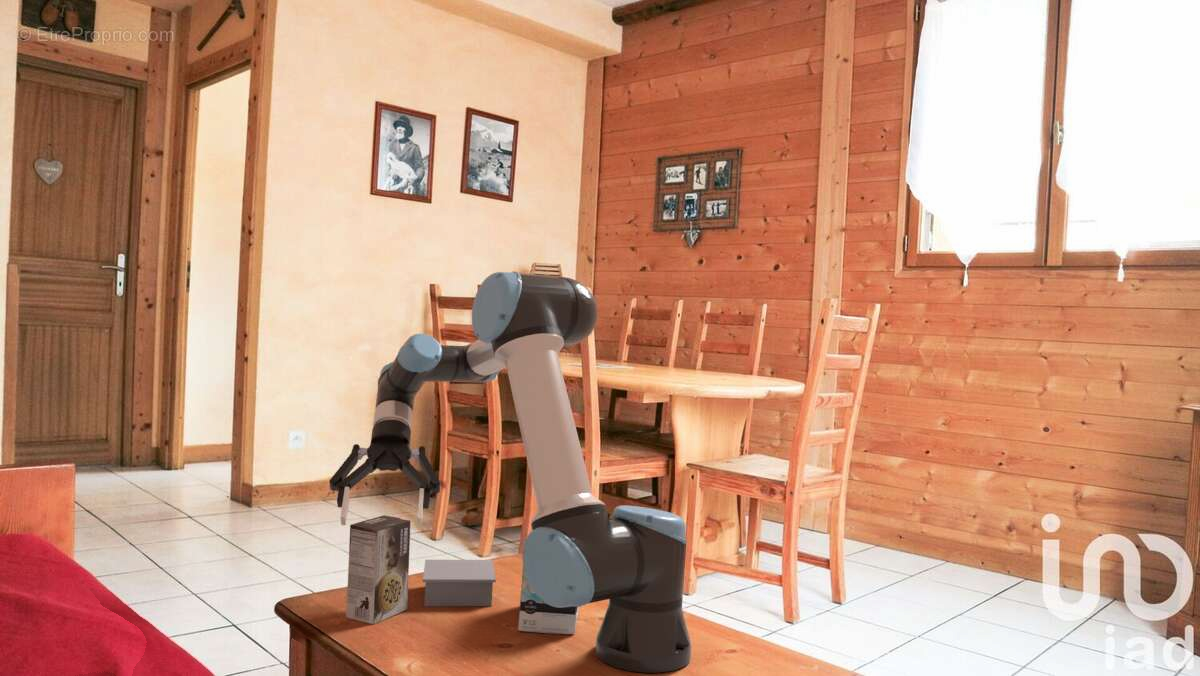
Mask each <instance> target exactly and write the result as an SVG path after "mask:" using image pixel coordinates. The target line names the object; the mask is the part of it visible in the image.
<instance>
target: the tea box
mask: <svg viewBox="0 0 1200 676" xmlns="http://www.w3.org/2000/svg"><path fill="white" fill-rule="evenodd" d="M531 532H532V527H531V529H530V531H529V533H528V535H529V534H530V533H531ZM523 552H525V550H524V549H523ZM519 601H520V604H519V614H518V615H519V616H518V627H517V629H518V631H520V632H527V633H528V632H529V633H538V634H540V633H543V634H553V635H555V634H557V635H575V633H576V628H577V623H578V622H577V621H578V616H579V615H578V614H579V609H580V607H573V606H571V607H564V608H557V607H553V606H550V605H548V604H546V603H545V602H544V601H543V600H542V599H541V598H539V597H538V596H537V595H536V594H535V592H534V591H533V589H532V588H531V586H530V584H529V582H528V580H527V577H526V574H525V571H524V567H523V566H522V574H521V590H520V600H519Z"/></svg>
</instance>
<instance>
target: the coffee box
mask: <svg viewBox="0 0 1200 676" xmlns="http://www.w3.org/2000/svg"><path fill="white" fill-rule="evenodd" d="M410 539H411V520H409V519H402V518H400V517H397V516H396V517H395V516H390V515H380V516H376V517H372V518H370V519H365V520H362V521H359V522H356V523H351V524H350V525H349V544H348V545H349V548H348V549H349V550H348V568H347V569H348V571H347V589H346V590H347V591H346V592H347V593H346V608H345V609H346V611H345V613H346V614H345V616H346V618H348V619H350V620H354V621H359V622H363V623H367V624H370V625H376V624H377V623H380V622H382V621H384V620H387V619H389V618H391V617H393V616H396V615H398V614H400V613H402V612H404V611H406V610H408V595H409V594H408V592H409V571H410V570H409V569H410V549H411V548H410V544H411V540H410Z"/></svg>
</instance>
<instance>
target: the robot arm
mask: <svg viewBox="0 0 1200 676" xmlns="http://www.w3.org/2000/svg"><path fill="white" fill-rule="evenodd" d="M472 304H473V305H472V309H471V326H472V330H473V333H474V335H475V337H476V338H477V340H476V341H474V342H471V343H469V344H467V345H452V344H451V345H448V344H440V343H439V341H438V340H437V339H436V338H434V336H429V335H428V334H426V333H416V334H413V335H411V336H410V337H408V338H407V340H406V341H405V342H404V343H403V345H401V347H400V348H399V351H398V353H397V355H396V357H395V358H394V360H393V361H392V362H390V363H388V364H385V365H383V367H382V368H381V370H380V372H379V377H378V379H377V391H376V392H377V393H376V401H375V408H374V413H373V420H372V421H373V423H372V430H371V439H370V444H369V446H368V447H360V445H359V444H358V443H355V444H353V446H352V449H351V453H350V454H349V455H348V457H347V458H346V459H345V460H344V462H343V463H342V464H341V465H340V466H339V468H338V469H337V471H335V473H334V474H333V475H332V476H331V478H330V479H329V487H330V491H332V492H335V491H336V492H337V498H336V503H337V507H338V508H341V512H340V525H341V526H346V524H347V519H348V518H347V517H348V512H349V504H350V497H351V492H350V490H351V489H352V488H354V487H355V486H356V485H357V484H359V482H361V481H362V480H363V479H365V478H366V477H367V476H368V475H370V474H373V473H374V472H375V471H376V470H379V471H382V472H383V471H391V472H396V471H397V470H400V471H401V473H402V474H404V475H406V476H407V478H409V480H410V481H411V482H412V483H413V484H414V485H415V486H416V487H417V488H418V489H419V494H418V495H419V496H418V497H419V498H418V508H417V527H422V526H423V512H424V510H428V509H429V508H430V505H431V504H430V503H431V502H430V501H431V495H432V494H434V493H435V494H438V493H440V492H441V482H440V479H439V478H438V476H437V474H436V472H435V470H434V469H433V466H432V465H431V462H430V461H429V459H428V458H427V455H426V447H425V446H422V445H421V446H419V447H418V449H417V448H416V449H412V448H411V438H412V437H411V436H412V426H413V415H414V413H413V412H414V403H415V398H416V395H417V394H418V393H419V391H420V390H421V388H422V387H423V386H424V384H425V383H427V382H429V383H430V382H431V383H436V382H437V383H438V382H439V383H440V382H441V383H442V382H443V383H446V382H447V383H448V382H449V383H453V382H455V383H458V382H459V383H463V382H465V383H479V384H480V383H484V382H492V381H494V380H495V379H496V378H497V376H498V375H499V373H500V371H502V370H504V369H506V371H507V372H506V373H507V375H508V380H509V384H510V385H509V386H510V388H511V389H510V390H511V394H512V395H511V396H512V399H513V402H514V408H515V411H516V416H517V419H518V420H517V421H518V425H519V429H520V434H521V439H522V443H523V447H524V452H525V456H526V461H527V466H528V470H529V475H530V479H531V482H532V483H531V484H532V488H533V493H534V497H535V501H536V505H537V510H536V513H535V514H534V516H533V517H532V518H531V520H530V526H531V528H532V532H531V533H530V532H529V533H530V534H529V533H528V534H527V536H526V538H525V539H524V542H523V546H522V547H523V552H522V557H521V558H522V568H523V567H524V571H525V574H526V577H527V580H528V582H529V584H530V586H531V588H532V589H533V591H534V592H535V594H536V595H537V596H538V597H539V598H541V599H542V600H543V601H544V602H545V603H546V604H548V605H550V606H553V607H557V608H564V607H571V606H573V607H579V608H580V607H582V606H586V605H587V604H592V603H597V602H602V601H605V600H609V601H608V605H607V608H606V611H605V613H604V617H603V619H602V621H601V624H600V626H599V627H600V628H599V630H598V633H597V635H596V639H595V654H596V657H597V658H599V660H601V662H604V663H605V664H606V665H607V664H608V665H610V666H611V667H614V668H617V669H620V670H625V671H629V672H637V673H645V674H646V673H650V674H651V673H666V672H672V671H677V670H679V669H682V668H683V667H685V666H687V665H688V664H689V663H690V662H691V656H692V655H691V654H692V643H691V638H690V634H689V630H688V627H687V623H686V619H685V614H684V611H683V599H684V598H683V596H684V595H683V594H684V583H685V582H684V580H685V567H686V566H685V564H686V547H687V543H688V542H687V540H686V538H687V536H686V534H687V533H686V532H687V531H686V530H687V527H686V522H685V521H684V519H683V518H682V517H681V516H679V515H677V514H675V513H673V512H670V511H665V510H661V509H657V508H656V509H655V508H651V507H644V506H639V505H638V506H637V505H617V506H616V507H615V508H614V510H613V513H612V519H610V518H609V515H608V511H607V507H606V504H605V502H603V501H601V500H600V499H599V498H597V497H595V496H594V495H593V492H592V487H591V483H590V480H589V476H588V472H587V467H586V463H585V459H584V455H583V451H582V447H581V443H580V439H579V435H578V434H579V433H578V431H577V427H576V423H575V419H574V415H573V410H572V407H571V402H570V399H569V394H568V390H567V387H566V382H565V379H564V375H563V370H562V366H561V362H560V358H559V353H560V352H561V350H565V349H568V348H570V347H573V346H576V345H577V344H579V343H582V342H584V341H585V340H587V338H589V337H590V335H592V333H593V331H594V329H595V328H596V325H597V321H598V319H599V318H598V316H599V312H598V311H599V310H598V304H597V301H596V299H595V296H594V295H593V293H592V292H591V291H590V289H589V288H588V287H587V286H585V284H583V283H581V282H580V281H578V280H576V279H573V278H570V277H565V276H552V275H542V274H531V273H530V274H529V273H519V271H515V270H514V271H511V272H508V271H507V272H506V271H497V272H494V273H491V274H490V275H488V276H487V277H486V278H485V279H484V280H483V281H482V282H481V284H480V285H479V288H478V289H477V292H476V294H475V297H474V300H473V303H472ZM365 456H367V458H366V459H365V461H364V462H363V463H362V464H361V465H360V466H358V467H356V465H357V464H358V462H359V461H361V460H362V459H363V457H365ZM411 458H414V459H415V461H416V462H419V463H418V464H419V467H420V468H421V470H422V471H423V474H424V475H425V477H426V478H424V476H423V475H422V474H421V473H420V472H419V471H418V470H417V469H416V468H415V467H414V466H413V465H412V464H411V461H410V459H411ZM355 467H356V469H355V470H354V468H355ZM352 470H354V471H352ZM524 550H525V552H524Z"/></svg>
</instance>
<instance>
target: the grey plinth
mask: <svg viewBox="0 0 1200 676" xmlns="http://www.w3.org/2000/svg"><path fill="white" fill-rule="evenodd" d="M495 572H496V571H495V566H494V560H493V559H425V560H424V568H423V576H422V583H425V587H424V588H425V589H424V607H492V606H493V605H492V604H493V603H492V602H493V585H494V584H493V583H496V581H497V579H496V573H495Z"/></svg>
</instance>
